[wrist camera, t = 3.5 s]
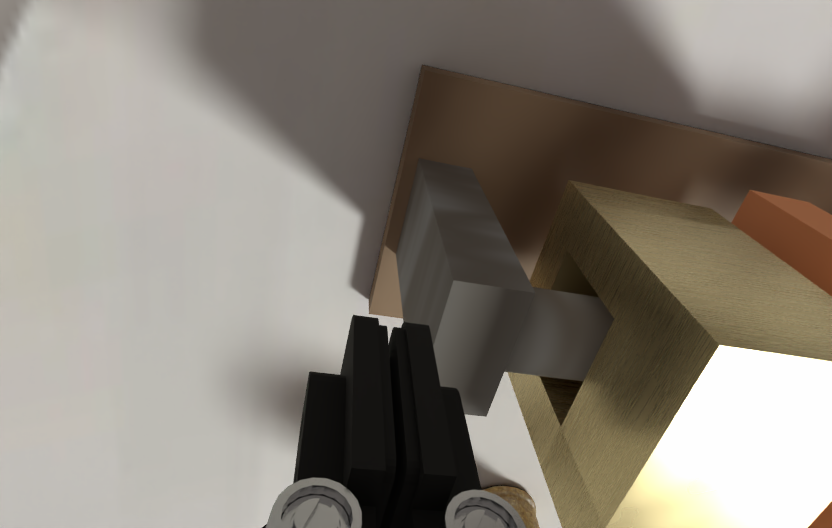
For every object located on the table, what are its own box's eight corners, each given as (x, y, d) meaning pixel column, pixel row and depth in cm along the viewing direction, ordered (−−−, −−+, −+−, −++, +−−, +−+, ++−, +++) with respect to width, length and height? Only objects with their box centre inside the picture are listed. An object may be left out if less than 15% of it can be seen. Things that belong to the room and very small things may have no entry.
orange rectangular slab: (699, 376, 22) (866, 586, 15) (648, 370, 22) (794, 582, 15) (808, 202, 19) (1102, 366, 11) (750, 189, 18) (1015, 352, 11)
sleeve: (625, 369, 21) (758, 581, 14) (501, 353, 20) (577, 571, 13) (711, 208, 17) (943, 377, 10) (568, 179, 16) (719, 345, 10)
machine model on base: (994, 197, 24) (1323, 324, 16) (856, 370, 28) (1053, 537, 20) (422, 65, 19) (468, 149, 11) (368, 300, 24) (372, 483, 15)
